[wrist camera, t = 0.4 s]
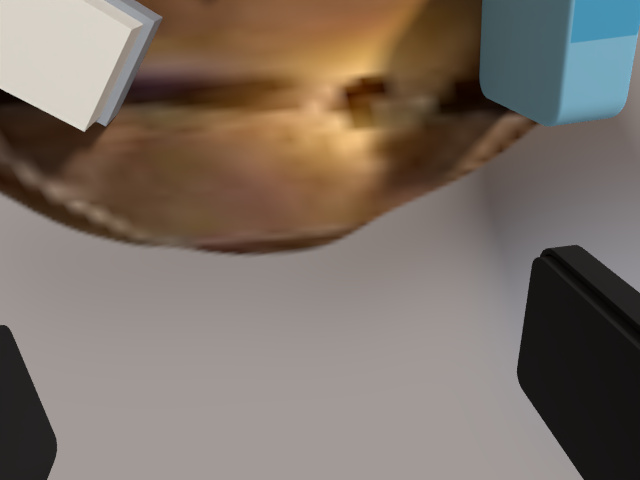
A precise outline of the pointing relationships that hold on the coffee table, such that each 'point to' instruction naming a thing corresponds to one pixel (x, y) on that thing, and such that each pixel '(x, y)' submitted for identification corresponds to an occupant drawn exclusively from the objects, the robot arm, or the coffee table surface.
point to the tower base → (151, 23)
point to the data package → (558, 57)
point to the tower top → (64, 54)
